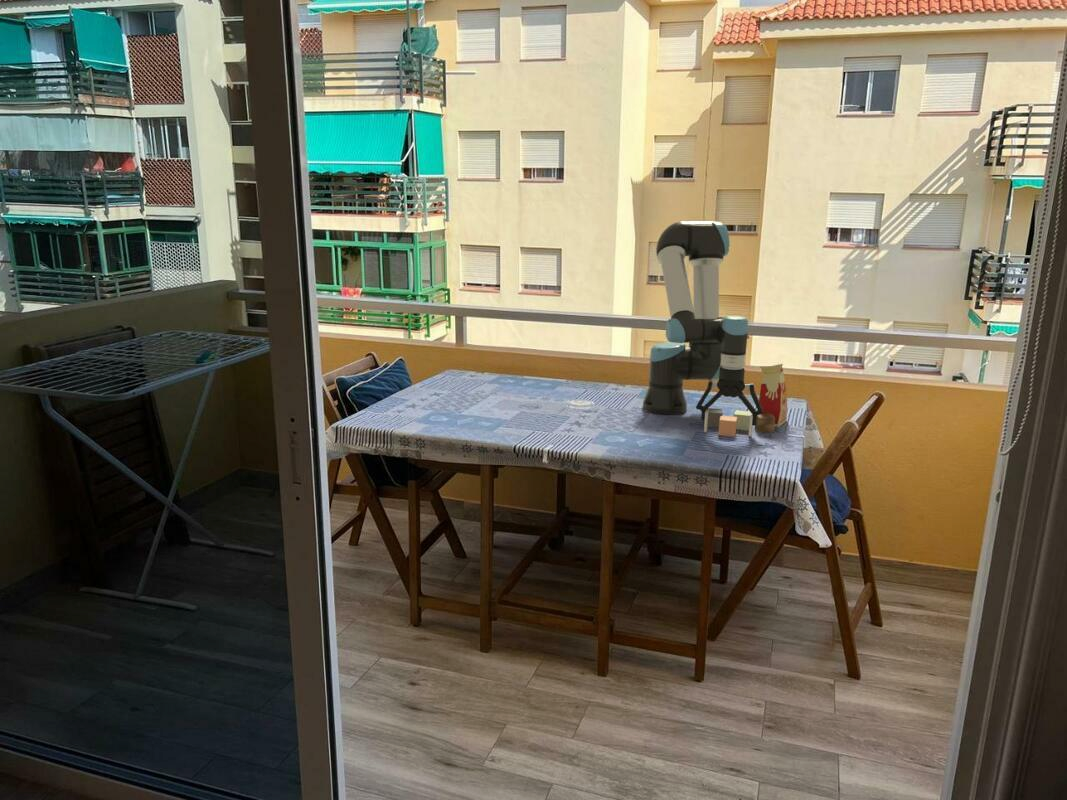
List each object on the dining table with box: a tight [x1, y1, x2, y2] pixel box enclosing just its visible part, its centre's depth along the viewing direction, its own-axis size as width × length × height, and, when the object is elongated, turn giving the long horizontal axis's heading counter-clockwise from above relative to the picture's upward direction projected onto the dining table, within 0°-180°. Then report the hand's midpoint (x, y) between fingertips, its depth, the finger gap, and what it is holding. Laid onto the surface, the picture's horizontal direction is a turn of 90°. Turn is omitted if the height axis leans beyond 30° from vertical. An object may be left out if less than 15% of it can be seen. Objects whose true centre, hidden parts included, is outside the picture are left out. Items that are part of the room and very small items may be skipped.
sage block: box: [733, 409, 752, 431], centre depth 250 cm, size 5×5×5 cm
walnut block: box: [754, 414, 776, 434], centre depth 247 cm, size 5×5×5 cm
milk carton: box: [758, 363, 788, 428], centre depth 254 cm, size 9×9×20 cm
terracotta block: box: [718, 415, 737, 437], centre depth 244 cm, size 5×5×5 cm
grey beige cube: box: [707, 407, 724, 428], centre depth 252 cm, size 5×5×5 cm
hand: (727, 433), depth 244 cm, fingers open, 13 cm apart
